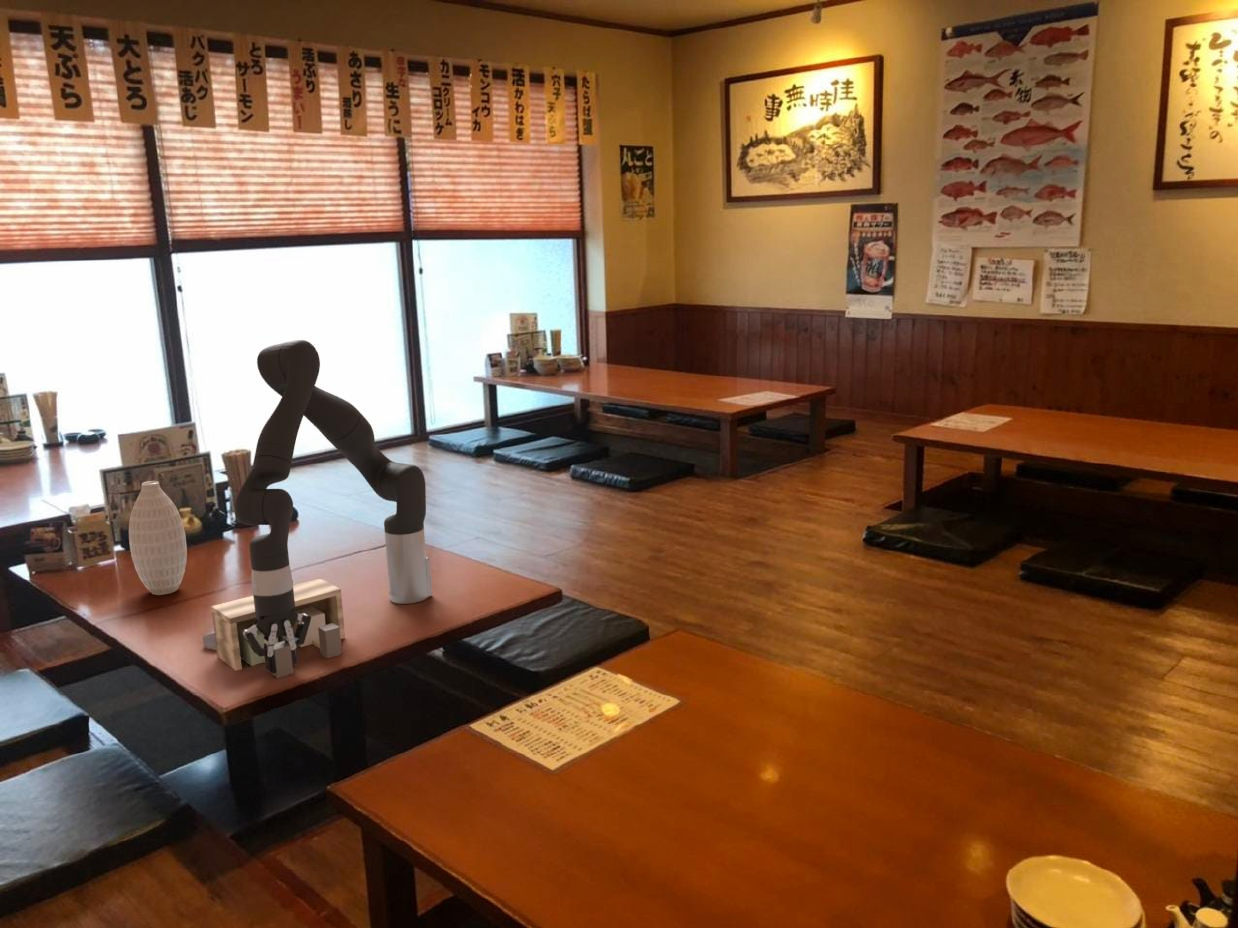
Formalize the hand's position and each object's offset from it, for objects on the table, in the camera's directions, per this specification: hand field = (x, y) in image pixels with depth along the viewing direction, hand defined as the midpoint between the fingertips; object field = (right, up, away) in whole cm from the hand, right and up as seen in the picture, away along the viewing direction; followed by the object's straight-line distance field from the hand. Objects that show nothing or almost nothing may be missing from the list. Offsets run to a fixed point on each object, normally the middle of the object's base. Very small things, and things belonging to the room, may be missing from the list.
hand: (281, 668), depth 197 cm
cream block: (+3, +2, +14) cm, 14 cm away
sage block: (-4, 0, +5) cm, 6 cm away
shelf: (-4, +2, +14) cm, 14 cm away
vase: (-47, +9, +51) cm, 70 cm away
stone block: (-17, +2, +19) cm, 25 cm away
